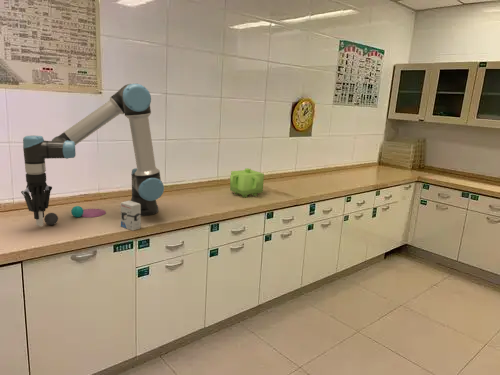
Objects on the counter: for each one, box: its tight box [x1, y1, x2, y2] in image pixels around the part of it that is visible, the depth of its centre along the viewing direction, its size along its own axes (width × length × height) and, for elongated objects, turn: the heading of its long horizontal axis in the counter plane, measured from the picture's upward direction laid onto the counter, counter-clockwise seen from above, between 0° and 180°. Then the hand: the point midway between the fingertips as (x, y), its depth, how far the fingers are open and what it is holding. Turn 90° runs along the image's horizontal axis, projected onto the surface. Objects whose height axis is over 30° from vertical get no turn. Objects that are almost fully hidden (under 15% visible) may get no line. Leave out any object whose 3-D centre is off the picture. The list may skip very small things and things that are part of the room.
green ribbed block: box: [229, 168, 265, 198], centre depth 246 cm, size 25×23×17 cm
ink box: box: [120, 200, 142, 231], centre depth 173 cm, size 8×5×12 cm, turn 56°
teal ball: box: [70, 205, 84, 218], centre depth 183 cm, size 6×6×6 cm
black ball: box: [43, 212, 59, 226], centre depth 171 cm, size 6×6×6 cm
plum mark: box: [80, 208, 107, 218], centre depth 191 cm, size 14×14×1 cm
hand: (39, 225), depth 166 cm, fingers closed
